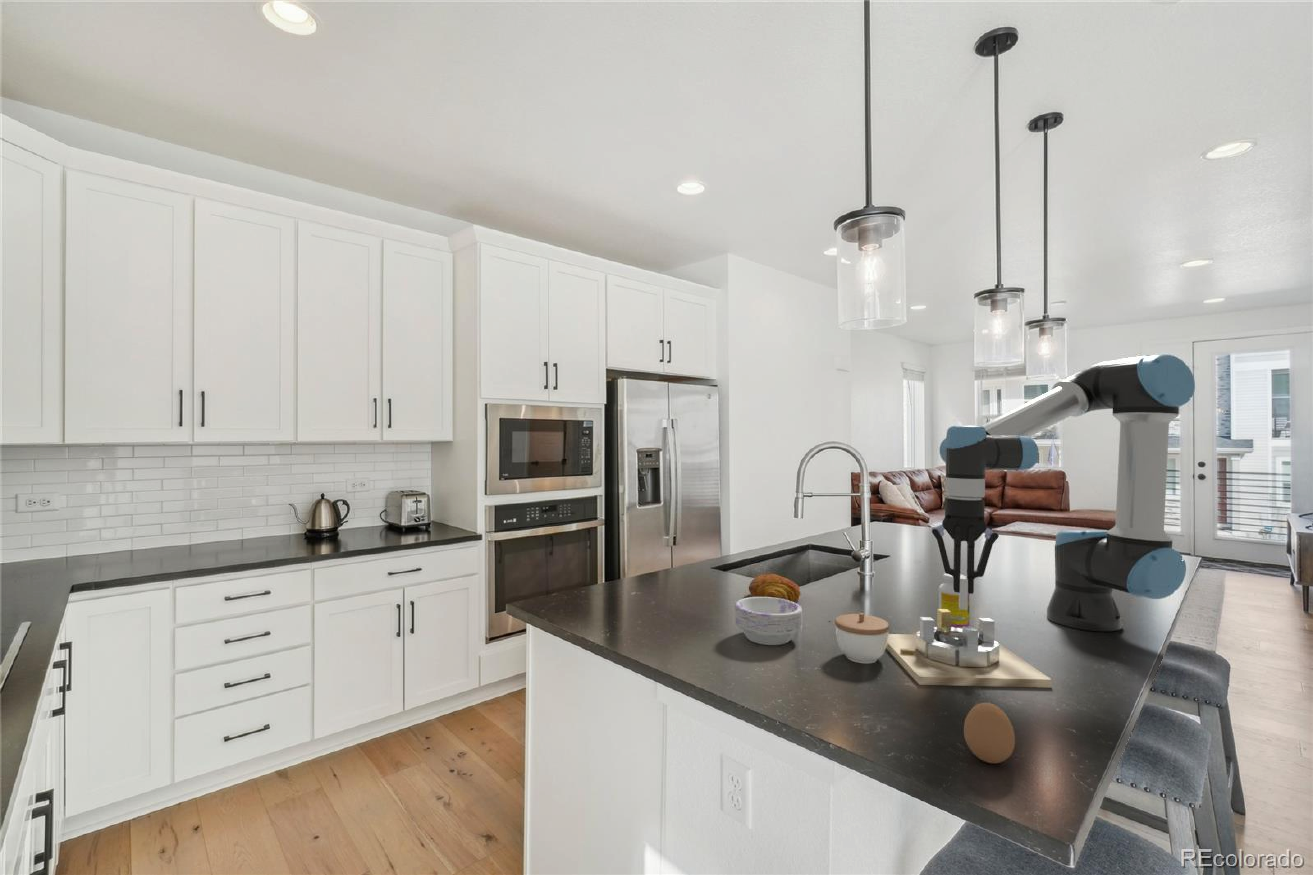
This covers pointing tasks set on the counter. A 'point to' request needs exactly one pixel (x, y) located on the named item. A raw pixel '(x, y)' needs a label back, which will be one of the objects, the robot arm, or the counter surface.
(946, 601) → the supplement bottle
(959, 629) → the ring nut
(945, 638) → the dark grey dome
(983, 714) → the egg
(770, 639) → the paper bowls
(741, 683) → the counter surface
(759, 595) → the croissant
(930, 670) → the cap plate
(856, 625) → the lidded jar
